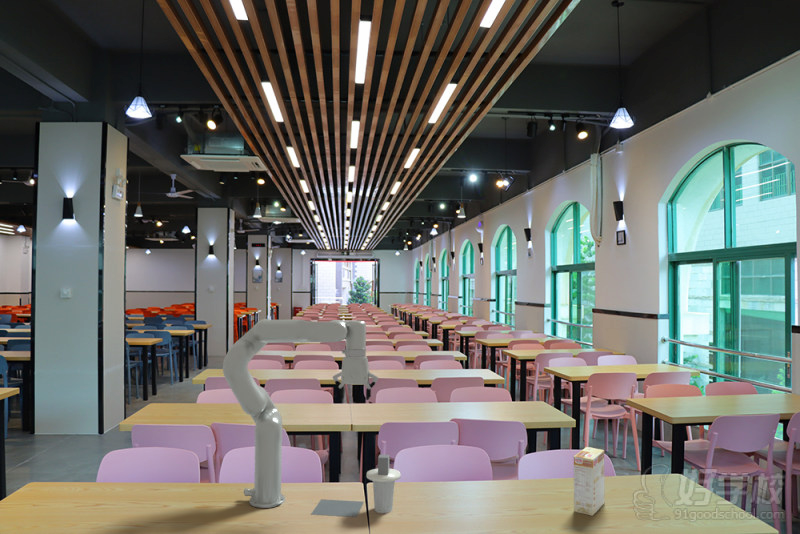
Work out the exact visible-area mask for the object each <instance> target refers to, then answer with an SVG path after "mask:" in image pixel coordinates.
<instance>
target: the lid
mask: <svg viewBox="0 0 800 534" xmlns="http://www.w3.org/2000/svg"><path fill="white" fill-rule="evenodd" d="M366 478H367V480H369V481H372V482H373V481H376V482H392V481H395V482H396V481H398V480H399V479H401V472H400V471H399V470H397V469H396V468H395V469H394V468H390V454H379V455H378V457H377V468H373V469H369V470H367V472H366Z"/></svg>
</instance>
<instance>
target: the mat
mask: <svg viewBox="0 0 800 534" xmlns="http://www.w3.org/2000/svg"><path fill="white" fill-rule="evenodd" d="M364 503H365V502H364V501H355V500H339V499H322V498H321V499H320V500H319V502H318V503H317V504H316V506H315V508H314V509H313V511H311V513H310V515H311V516H312V515H313V516H328V517H329V516H330V517H348V518H357V517H358V515H359V513H360V511H361V509H362V508H363V505H364Z"/></svg>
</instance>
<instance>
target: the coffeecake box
mask: <svg viewBox="0 0 800 534" xmlns="http://www.w3.org/2000/svg"><path fill="white" fill-rule="evenodd" d="M605 503H606V500H605V450H604V449H600V448H595V447H589V446H585V447H584V448H583V449H581V450H580V451H579V452H578V453H576V454H575V455H574V456H573V512H575V513H579V514H584V515H588V516H592V517H593V516H594V515H595V514H596V513H597V512H598V511H599V510H601V508H602V506H604V505H605Z"/></svg>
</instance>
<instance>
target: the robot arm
mask: <svg viewBox="0 0 800 534" xmlns="http://www.w3.org/2000/svg"><path fill="white" fill-rule="evenodd" d="M344 339H345V349H342V350H341V354H344V356H343V358H342V362H341V363H342V364H341V371H340V372H339V373H336V374H334V375H333V376H332V379H333V382H335V385H336V386H337V387H338V388H339V397H340V400H344V398H345V395H346V394H345V392H346V391H345V387H344V386H345V385H364V386H365V387H366V389H365V400H366V401H369V400H370V398H371V397H372V388H373V387H374V386H375V385H376V384H377V382H378V380H379V377H378V376H377V375H375V374H374V373H372V372H370V368H369V360H368V356H366V351H367V350H366V345H367V324H366V322H365V321H364V320H339V319H331V320H330V321H311V320H310V321H309V320H305V319H297V318H296V319H269V318H262V319H260V320H259V321H257V322H256V323H255V324H254V325H253V326H252V327H251V328H250V329H249V330H248V331H247V332H245V334H244V335H243V336H241V337H240V338H239V339H238V340H237V341H236V342H235V343H234V344H232V345H231V346H230V348H229V350H228V351H227V353H226V355H225V356H224V360H223V361H222V362H223V363H222V373H223V376H224V379H225V381H226V383H227V384H228V386H229V388H230V390H231V392H232V393H233V395H234V396H235V398H236V400H237V402H238V404H239V405H240V407H241V409H242V411H243V412H244V413H245V414H246V415H249V416H250V417H251V418H252V420H253V422H254V424H255V427H254V486H253V487H252V488H244V490H243V494H244V497H248V496H249V497H250V499H249V505H250V506H253V507H254V508H260V509H268V508H269V509H270V508H274V507H278V506H281V505H282V504H284V503H285V502H286V496H285V495H284V494H282V454H283V453H282V445H283V444H282V443H283V417H282V416H281V413H280V411H279V410H278V408H277V407H276V405H275V403H274V401H273V400H272V398H271V397H270V395H269V393H268V392H267V390H266V389H265V388H264V387H262V386H260V385H258V384H257V382H256V381H255V379H254V377H253V375H252V373H251V372H250V371H249V368H248V365H249V362H251V361H252V359H253V357H254V356H256V354H258V353H259V352H260V351H261V350H262V349H263V348H264V347H265V346H266V345H267V344H277V343H280V344H281V343H283V344H284V343H286V344H287V343H302V344H305V343H339V342H341V341H344ZM339 378H340V380H339ZM370 378H371V379H373V380H372V382H371V383H370V382H369V381H370ZM340 381H341V382H340Z"/></svg>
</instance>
